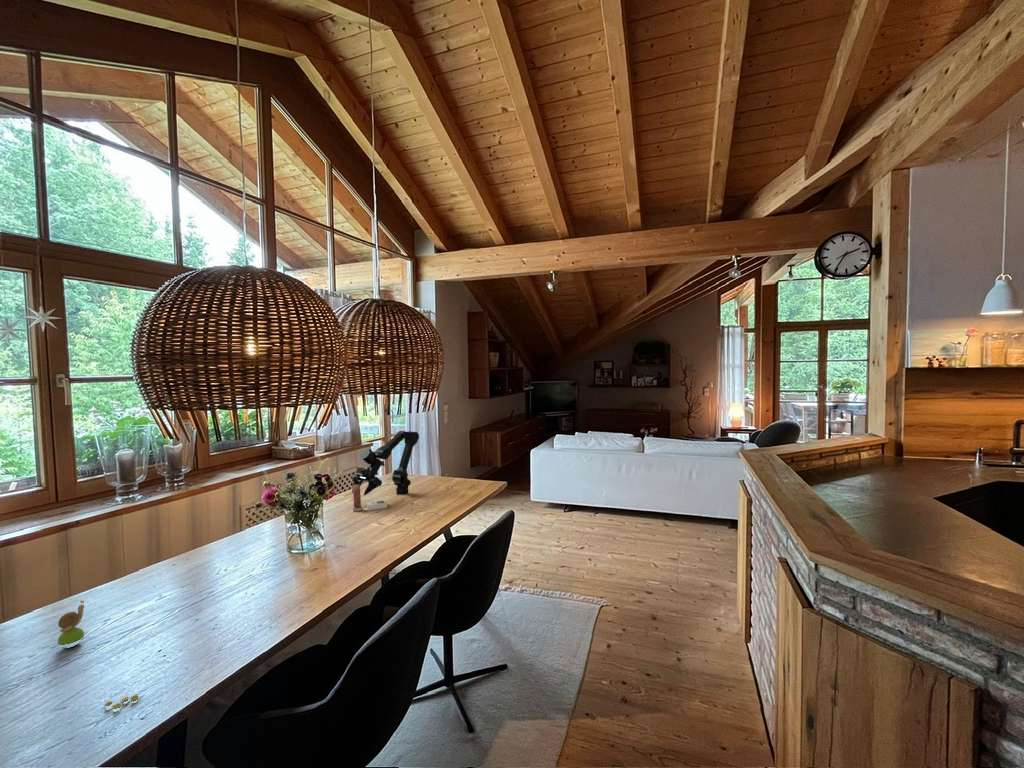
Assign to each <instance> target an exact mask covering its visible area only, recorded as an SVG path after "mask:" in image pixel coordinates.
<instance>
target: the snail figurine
mask: <svg viewBox="0 0 1024 768" xmlns="http://www.w3.org/2000/svg"><path fill="white" fill-rule="evenodd" d="M79 602H80V603H81V604H80V605H79V606H78V607H77V610H78V611H77V612H75V611H68V612H66V613H64V614H63V615H62V616H61V617H60V619H59V620H58V628H60V630H59V632H60V633H61V634H60V635H59V636H58V638H57V644H58V646H59V645H65V644H70V643H73V642H76V641H78V640H80V639H81V638H83V639H84V637H85V631H84V630H83V629H82V628H81V627H78V625H79V623H80V622H82V621H81V620H82V619H83V616H84V608H85V606H84V602H85V601H84V600H80V601H79ZM76 626H77V627H76ZM83 636H84V637H83Z"/></svg>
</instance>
